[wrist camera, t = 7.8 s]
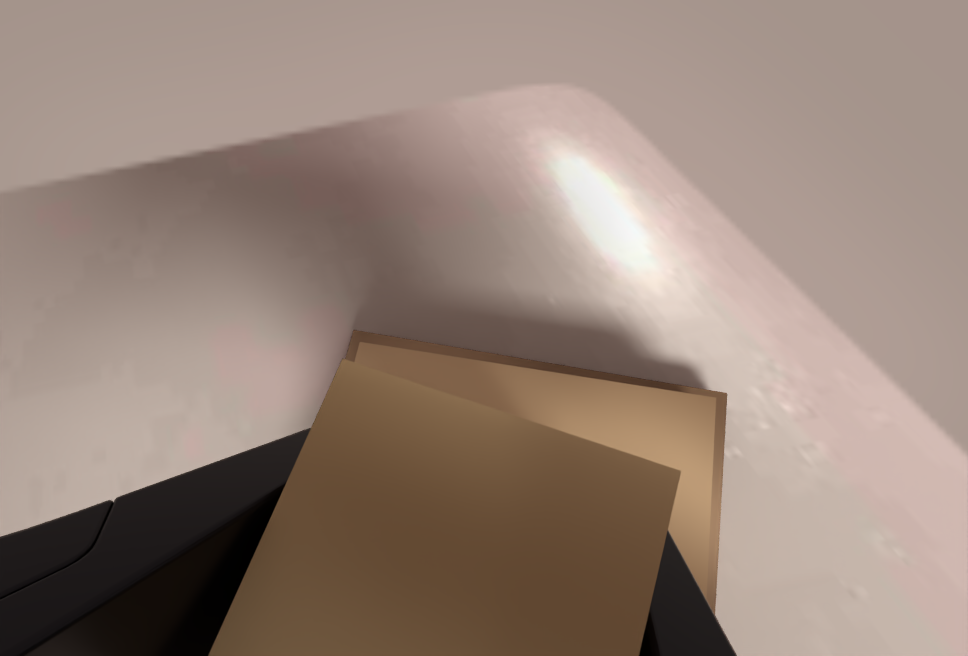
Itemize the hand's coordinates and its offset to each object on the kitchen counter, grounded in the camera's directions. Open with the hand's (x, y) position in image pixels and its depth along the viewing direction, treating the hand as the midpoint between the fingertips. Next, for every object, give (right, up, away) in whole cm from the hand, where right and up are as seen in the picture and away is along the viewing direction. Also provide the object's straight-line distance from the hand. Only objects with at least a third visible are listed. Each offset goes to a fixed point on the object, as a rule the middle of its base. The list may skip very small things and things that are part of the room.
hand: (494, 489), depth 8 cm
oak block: (0, -4, +6) cm, 7 cm away
